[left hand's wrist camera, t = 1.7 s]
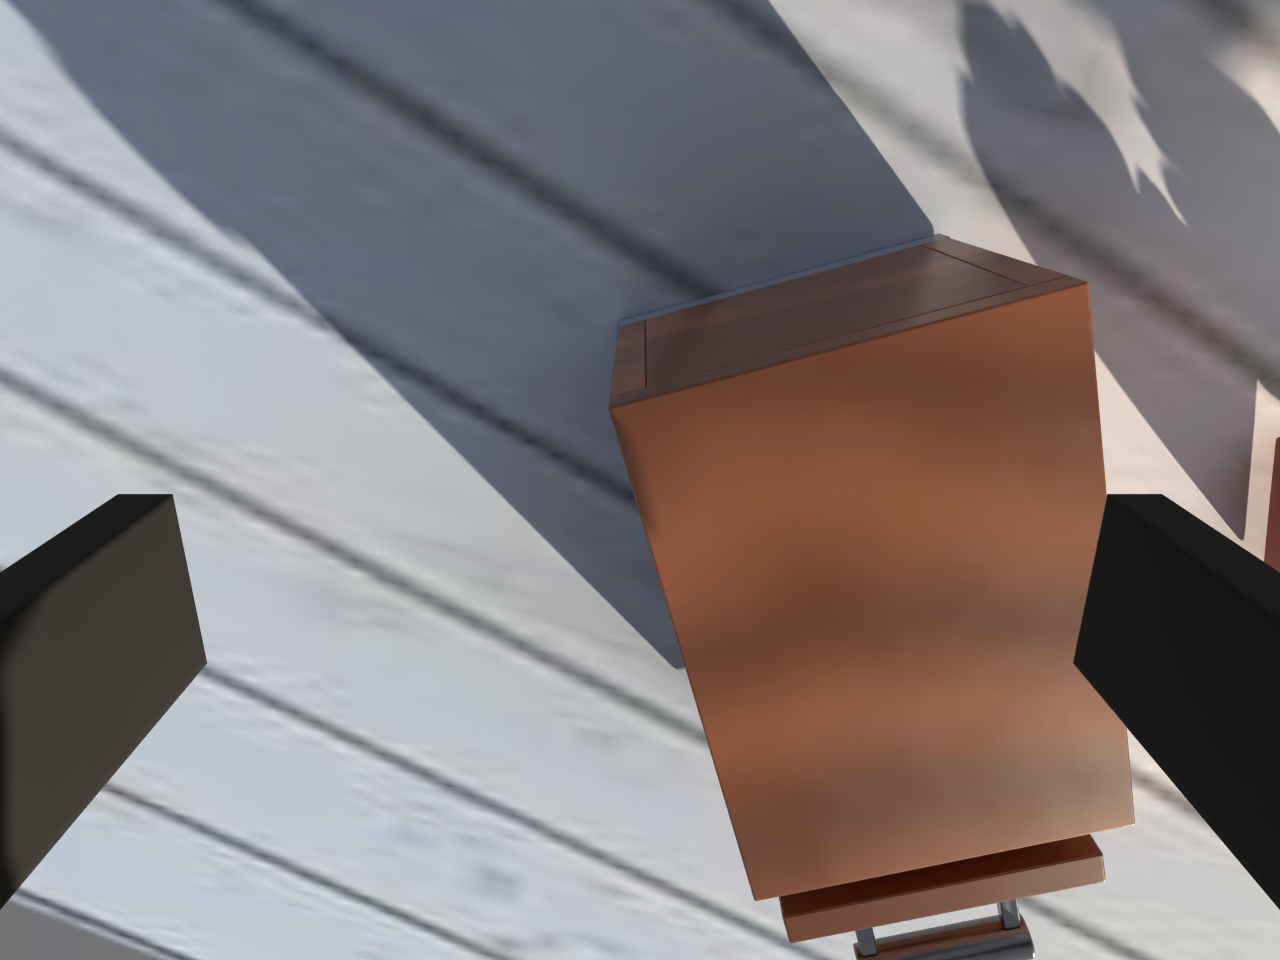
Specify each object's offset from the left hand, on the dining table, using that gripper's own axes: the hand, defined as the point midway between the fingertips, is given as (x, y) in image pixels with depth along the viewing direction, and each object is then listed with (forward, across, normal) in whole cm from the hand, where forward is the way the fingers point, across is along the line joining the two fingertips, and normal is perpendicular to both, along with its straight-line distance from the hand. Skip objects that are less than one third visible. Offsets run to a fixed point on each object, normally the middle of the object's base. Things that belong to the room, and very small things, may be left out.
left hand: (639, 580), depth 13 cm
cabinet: (+20, +7, -6) cm, 22 cm away
